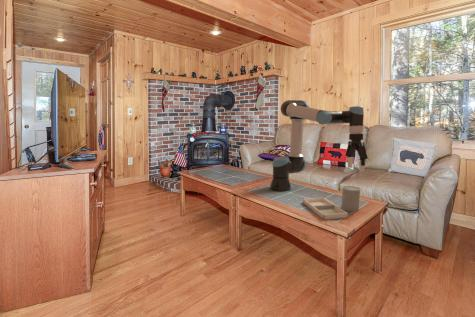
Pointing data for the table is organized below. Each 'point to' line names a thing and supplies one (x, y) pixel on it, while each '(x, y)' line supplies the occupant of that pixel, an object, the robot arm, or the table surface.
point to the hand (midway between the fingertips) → (355, 169)
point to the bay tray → (325, 208)
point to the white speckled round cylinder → (350, 198)
